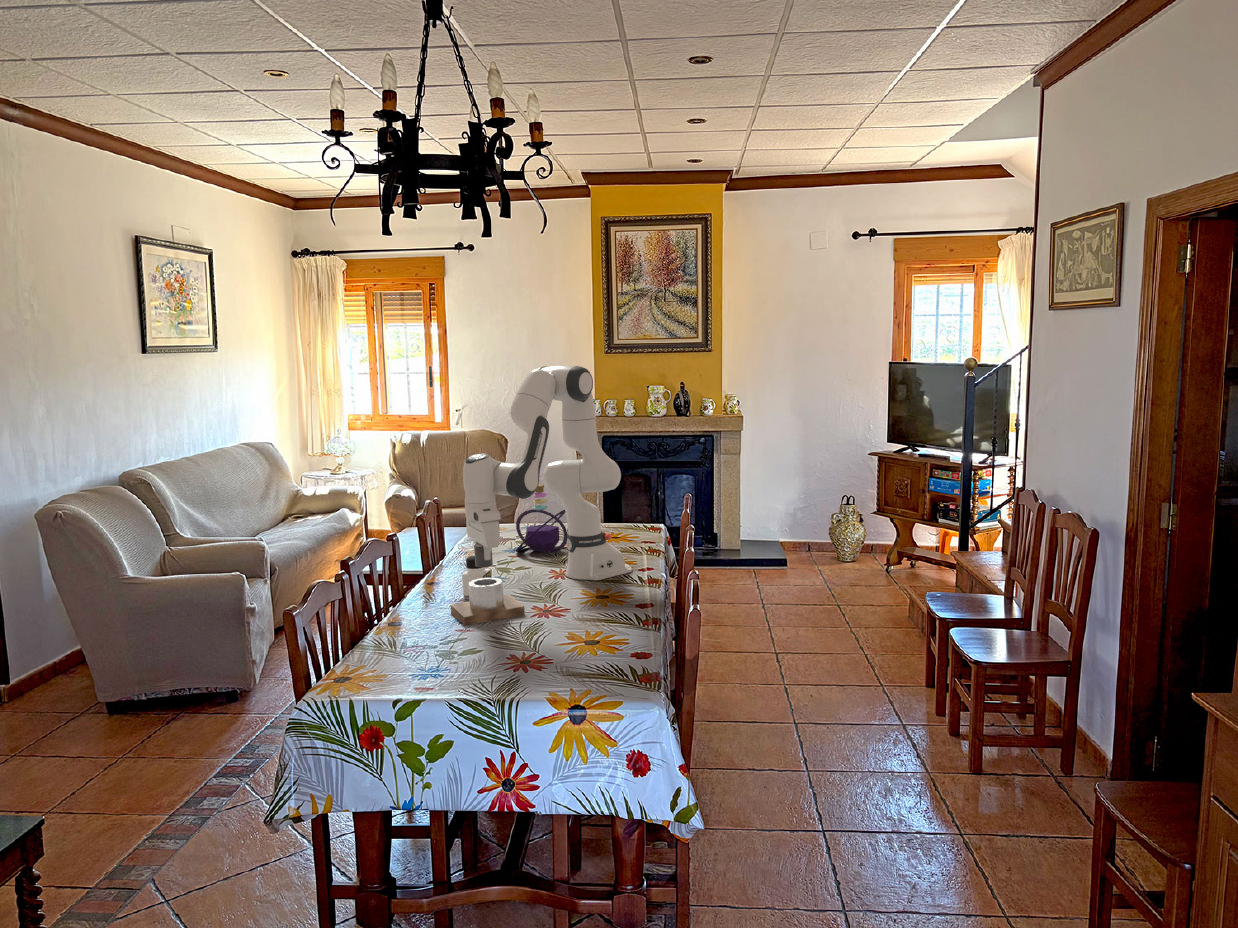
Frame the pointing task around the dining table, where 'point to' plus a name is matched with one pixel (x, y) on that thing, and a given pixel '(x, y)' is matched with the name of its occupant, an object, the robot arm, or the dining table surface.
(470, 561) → the medicine bottle
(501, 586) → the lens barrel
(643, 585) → the dining table surface
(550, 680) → the dining table surface
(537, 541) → the decorative bottle
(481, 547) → the gray white-topped cylinder
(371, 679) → the dining table surface
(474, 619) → the mounting block
